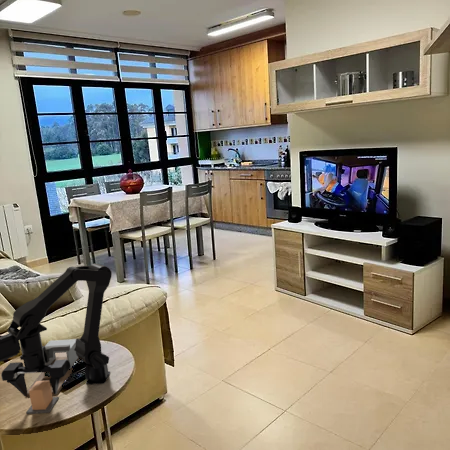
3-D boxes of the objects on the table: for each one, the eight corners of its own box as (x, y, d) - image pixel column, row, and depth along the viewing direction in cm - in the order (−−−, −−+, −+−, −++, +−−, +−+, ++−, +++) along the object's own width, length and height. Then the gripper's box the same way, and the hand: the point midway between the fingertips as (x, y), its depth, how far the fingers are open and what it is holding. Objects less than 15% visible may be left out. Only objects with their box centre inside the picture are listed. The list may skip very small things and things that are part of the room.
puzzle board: (81, 358, 156) (81, 355, 156) (57, 394, 135) (56, 391, 135) (53, 359, 157) (53, 357, 157) (25, 396, 135) (24, 393, 135)
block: (52, 399, 132) (49, 380, 130) (45, 409, 127) (41, 390, 126) (40, 399, 132) (36, 381, 131) (32, 409, 127) (28, 390, 126)
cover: (80, 356, 156) (77, 334, 154) (72, 368, 148) (68, 346, 146) (52, 357, 156) (49, 336, 154) (42, 370, 148) (38, 348, 146)
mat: (58, 398, 133) (58, 396, 133) (49, 412, 126) (49, 411, 126) (37, 399, 133) (36, 397, 133) (26, 413, 126) (26, 412, 126)
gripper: (73, 333, 133) (80, 377, 136) (15, 337, 134) (23, 381, 137) (58, 351, 122) (67, 399, 125) (-5, 355, 123) (5, 402, 126)
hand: (41, 394), depth 129 cm, fingers open, 9 cm apart
